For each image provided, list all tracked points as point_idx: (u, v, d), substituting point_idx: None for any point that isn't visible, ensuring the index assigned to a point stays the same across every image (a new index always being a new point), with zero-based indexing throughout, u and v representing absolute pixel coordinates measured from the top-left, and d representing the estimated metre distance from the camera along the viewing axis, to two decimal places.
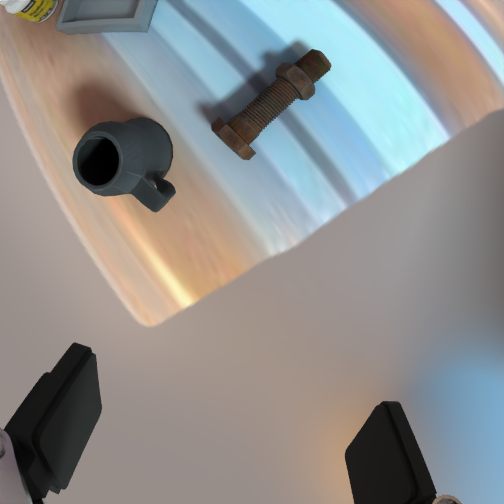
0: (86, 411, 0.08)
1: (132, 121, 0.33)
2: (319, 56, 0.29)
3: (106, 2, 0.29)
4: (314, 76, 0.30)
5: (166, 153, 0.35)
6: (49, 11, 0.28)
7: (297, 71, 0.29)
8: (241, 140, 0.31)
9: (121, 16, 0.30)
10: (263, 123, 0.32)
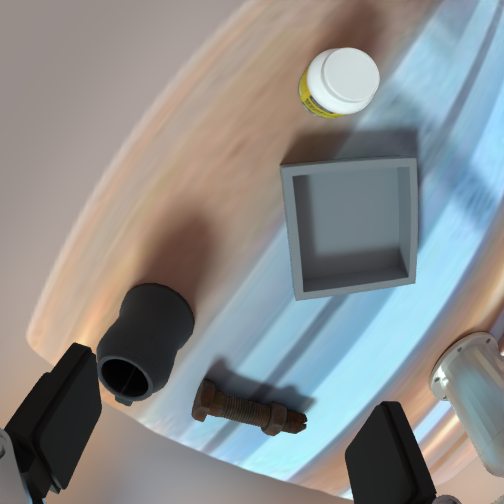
0: (86, 411, 0.08)
1: (183, 319, 0.34)
2: (300, 430, 0.38)
3: (332, 213, 0.31)
4: (282, 430, 0.38)
5: None
6: (316, 115, 0.27)
7: (279, 428, 0.36)
8: (203, 419, 0.35)
9: (311, 247, 0.32)
10: (226, 417, 0.37)
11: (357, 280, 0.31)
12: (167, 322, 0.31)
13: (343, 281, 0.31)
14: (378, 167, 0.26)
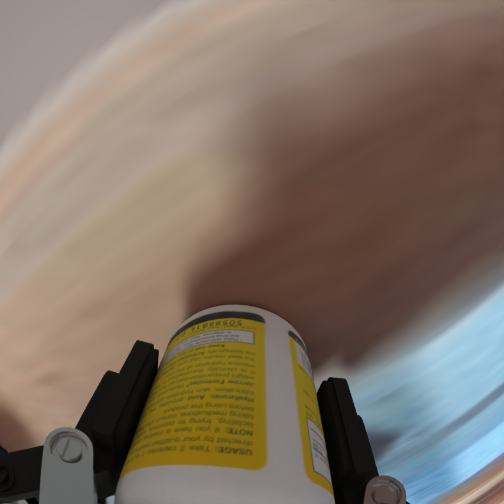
0: None
1: None
2: None
3: None
4: None
5: None
6: None
7: None
8: None
9: None
10: None
11: None
12: None
13: None
14: None
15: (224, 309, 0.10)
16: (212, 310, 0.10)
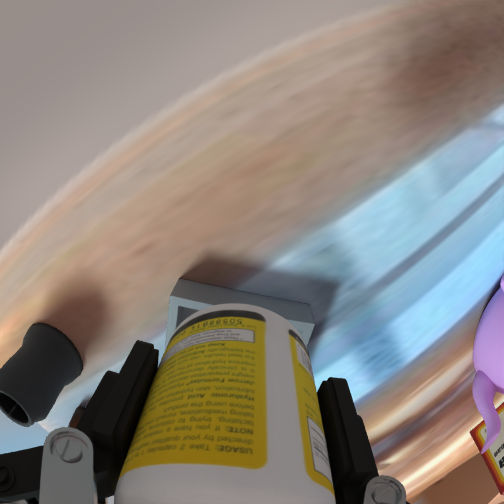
0: None
1: (71, 367, 0.32)
2: None
3: None
4: None
5: None
6: None
7: None
8: None
9: None
10: None
11: None
12: (55, 370, 0.29)
13: None
14: None
15: (224, 307, 0.10)
16: (212, 309, 0.10)
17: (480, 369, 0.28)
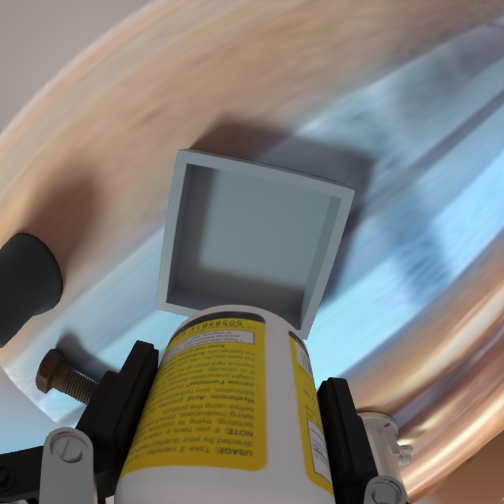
0: None
1: (47, 284, 0.26)
2: None
3: (231, 224, 0.26)
4: None
5: None
6: None
7: None
8: (45, 390, 0.28)
9: (195, 254, 0.27)
10: (71, 395, 0.30)
11: None
12: (27, 281, 0.24)
13: None
14: (299, 185, 0.21)
15: (224, 309, 0.10)
16: (212, 310, 0.10)
17: None
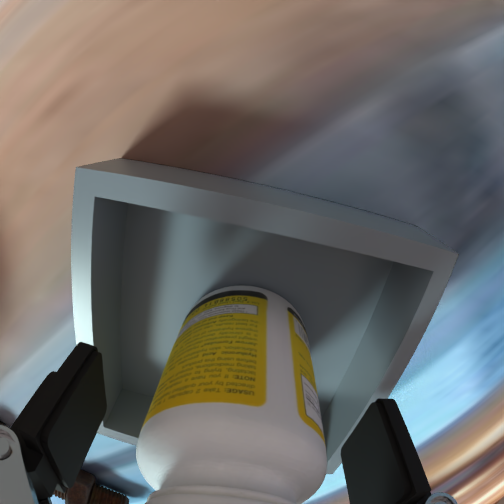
0: (92, 410, 0.08)
1: None
2: None
3: None
4: None
5: None
6: None
7: None
8: None
9: (146, 348, 0.14)
10: None
11: None
12: None
13: None
14: (351, 247, 0.09)
15: (232, 288, 0.12)
16: (222, 290, 0.12)
17: None
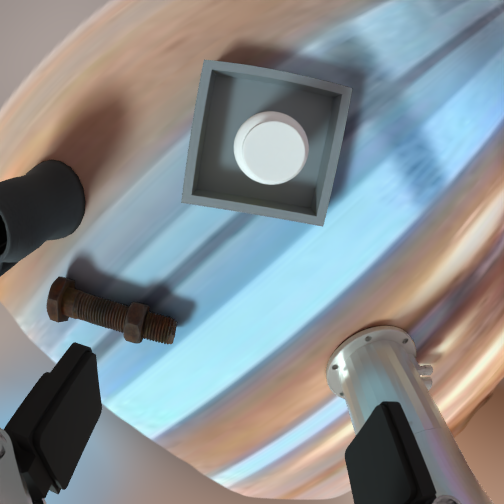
0: (86, 411, 0.08)
1: (71, 201, 0.28)
2: (167, 336, 0.33)
3: None
4: (148, 338, 0.33)
5: (51, 239, 0.30)
6: None
7: (135, 330, 0.31)
8: (57, 317, 0.30)
9: (216, 155, 0.29)
10: (84, 320, 0.32)
11: (256, 202, 0.28)
12: (53, 194, 0.26)
13: (240, 199, 0.28)
14: (306, 84, 0.23)
15: None
16: None
17: None
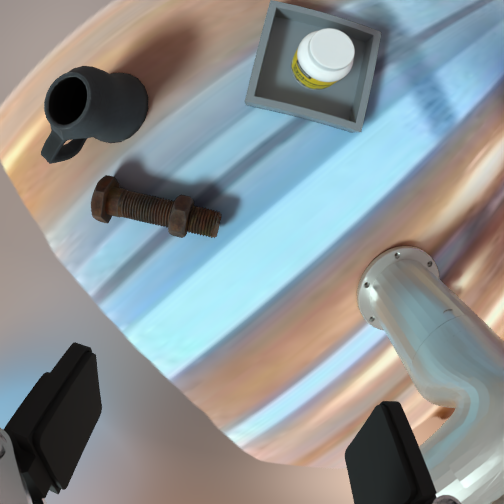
0: (86, 411, 0.08)
1: (138, 102, 0.32)
2: (212, 225, 0.35)
3: None
4: (192, 230, 0.36)
5: (108, 140, 0.34)
6: (300, 82, 0.31)
7: (182, 217, 0.34)
8: (100, 212, 0.33)
9: (273, 74, 0.32)
10: (127, 216, 0.35)
11: None
12: (125, 90, 0.29)
13: None
14: (347, 25, 0.27)
15: None
16: None
17: None
